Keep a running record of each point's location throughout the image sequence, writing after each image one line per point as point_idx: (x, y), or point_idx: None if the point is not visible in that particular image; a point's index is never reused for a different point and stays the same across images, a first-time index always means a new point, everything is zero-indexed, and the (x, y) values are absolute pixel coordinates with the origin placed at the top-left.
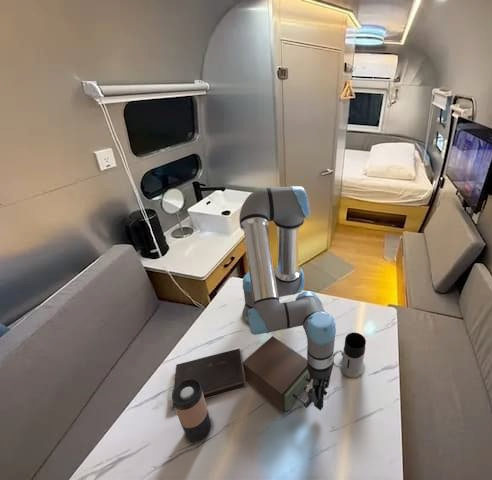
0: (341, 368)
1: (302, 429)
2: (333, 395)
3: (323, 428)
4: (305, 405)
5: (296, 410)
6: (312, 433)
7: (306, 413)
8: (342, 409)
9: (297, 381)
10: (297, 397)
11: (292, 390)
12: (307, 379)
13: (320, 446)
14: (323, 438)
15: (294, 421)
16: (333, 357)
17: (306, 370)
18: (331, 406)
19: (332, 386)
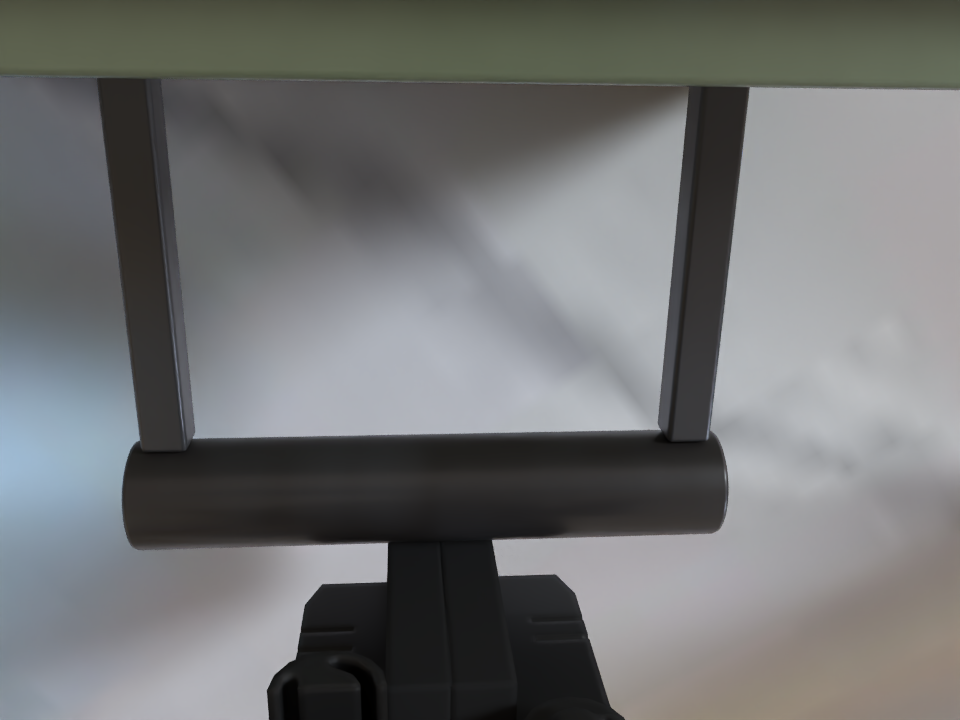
0: None
1: (52, 419)
2: (769, 481)
3: (281, 626)
4: (127, 511)
5: (197, 153)
6: (122, 556)
7: (277, 322)
8: (654, 673)
9: (365, 19)
10: (138, 226)
11: (13, 71)
12: (718, 119)
13: (81, 713)
14: (182, 690)
15: (40, 245)
16: None
17: (940, 11)
18: (605, 547)
19: (896, 391)
